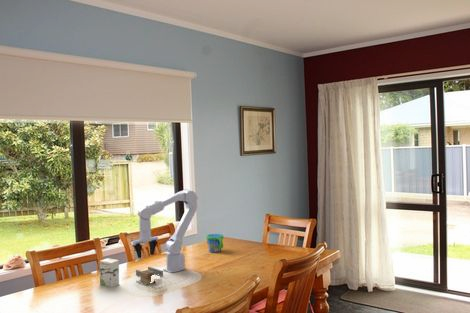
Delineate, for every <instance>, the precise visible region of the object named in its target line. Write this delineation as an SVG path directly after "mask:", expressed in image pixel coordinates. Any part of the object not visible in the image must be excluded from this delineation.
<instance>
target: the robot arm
mask: <svg viewBox="0 0 470 313" xmlns="http://www.w3.org/2000/svg"><path fill="white" fill-rule="evenodd" d="M178 201H179V202H183V203H184V205H185V208H186V209H185V211H184V213H183V215H182V217H181V219H180V221H179V223H178V225H177V227H176V229H175V231H174V232H173V234H172V235H170V238H168V240H166V241H165V243H164V247H165V250H166V255H165V256H166V267H165V268H163V270H162V271H165V272H168V273H171V274H173V273H176V272H180V271H184V270H186V269H187V268H186V267H185V266H186V261H185V254H184V252H182V251H181V250H182V246H183V239H184V236H185V233H187V230H188V229H189V226H190V224H191V222H192V219H193V218H194V216H195V214H196V212H197V211H198V210H197V209H198V196H197V193H196V192H195V191H194V190H189V189H183V190H180V191H178V192H176V193H174V194H172V195H171V196H169V197H167V198H165V199H163V200H157V199H156V200H154V201H153V202H152V203H150V204H146V205H145V206H142V207H141V208H139V210H138V212H137V216H139V221H138V222H139V223H138V224H139V238H138V239H135V240H132V244H131V245H132V246H133V247H134V249H135V252H136V256H137V258H138V259H141V258H142V249H143V245H142V244H145V243H148V245H149V246H148V247H149V255H150V256H154V254H155V250H156V248H157V244H158V243H159V242H158V241H159V236H152V232H151V231H152V226H151V221H152V220H151V218H152V216H154V215H156V214H158V213H160V212H162V211H164V210H165V207H168V206H169V205H172V204H174V203H176V202H178Z"/></svg>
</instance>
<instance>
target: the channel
mask: <svg viewBox="0 0 470 313" xmlns="http://www.w3.org/2000/svg"><path fill="white" fill-rule="evenodd" d="M147 270H150V271H153V272H154V273H155V275H156V274H159V275H161V276H160V277H163V276H164V270H161V269H157V268H154V267H151V266H147ZM141 271H142V270H139V269H135V275H136V276H139V277H140V272H141ZM159 275H158V276H159Z"/></svg>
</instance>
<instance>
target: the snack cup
mask: <svg viewBox="0 0 470 313" xmlns="http://www.w3.org/2000/svg"><path fill="white" fill-rule="evenodd" d="M205 238H206V242H207V245H208V246H207V247H208V251H209V252H210V253H212V254H213V253H215V254H216V253H220V252H222V249H223V248H224V242H223V239H224V235H223V234H221V233H211V234H210V233H209V234H206V236H205Z"/></svg>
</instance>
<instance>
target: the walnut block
mask: <svg viewBox="0 0 470 313" xmlns="http://www.w3.org/2000/svg"><path fill="white" fill-rule="evenodd" d="M140 271H141V272H140V276H139V278H140V279H139V280H141V282H142V283H145V284H149V285H151V284H150V282H151V276H152V275H156V274H155V273H154V272H153V271H150V270H148V269H145V270H140Z"/></svg>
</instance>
